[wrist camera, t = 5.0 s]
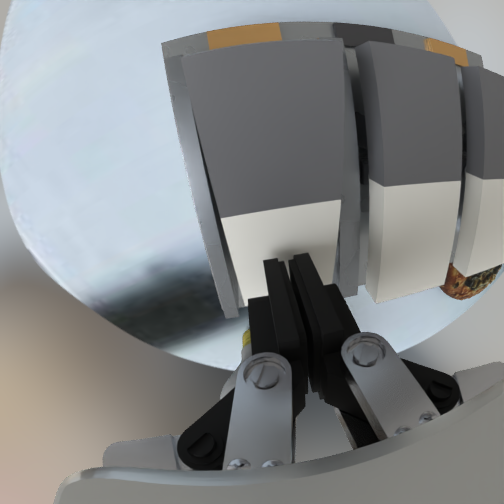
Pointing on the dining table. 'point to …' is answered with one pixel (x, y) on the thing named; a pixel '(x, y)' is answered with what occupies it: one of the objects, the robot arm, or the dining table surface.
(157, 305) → the dining table surface
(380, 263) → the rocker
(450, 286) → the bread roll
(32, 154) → the dining table surface
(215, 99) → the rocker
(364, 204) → the switch box
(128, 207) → the dining table surface
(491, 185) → the rocker
